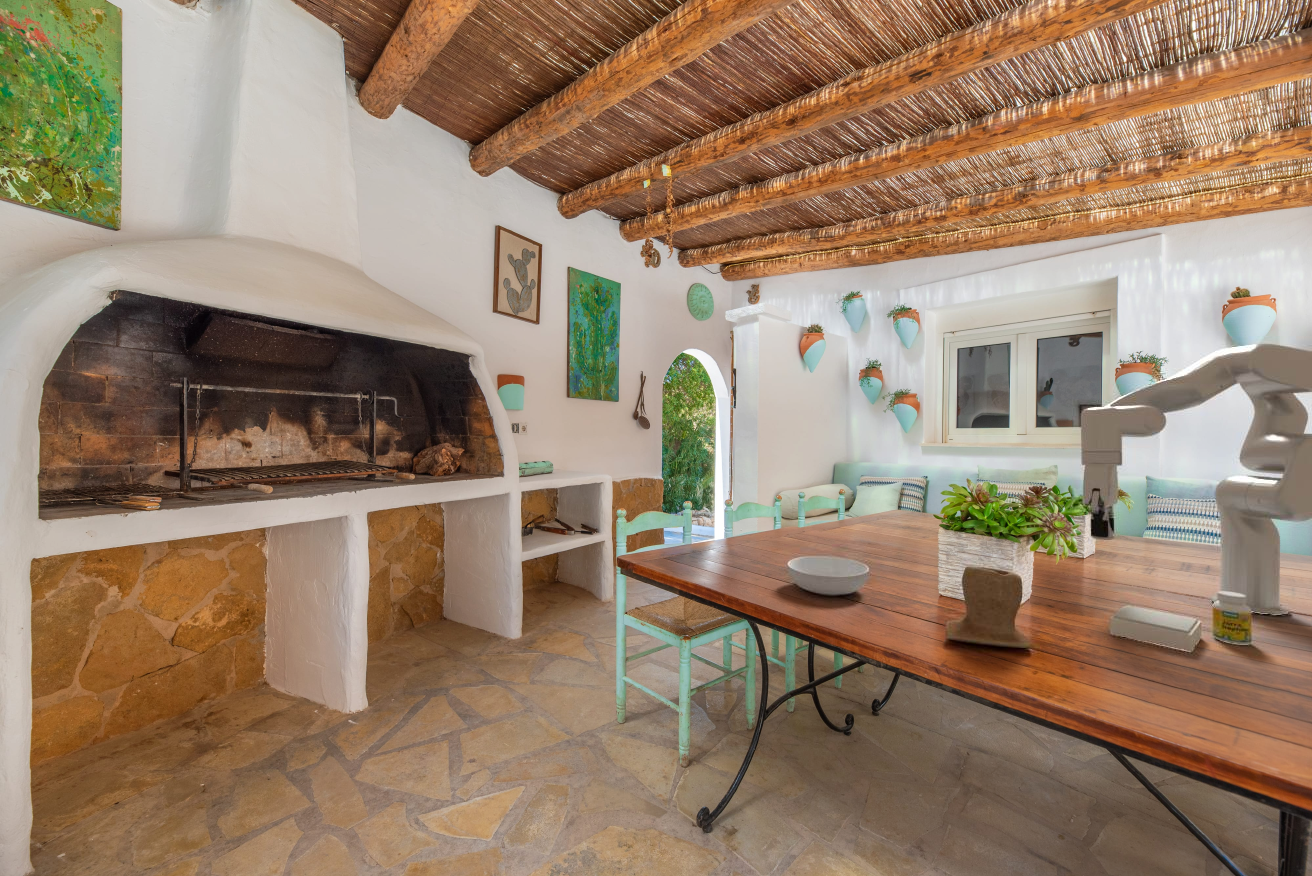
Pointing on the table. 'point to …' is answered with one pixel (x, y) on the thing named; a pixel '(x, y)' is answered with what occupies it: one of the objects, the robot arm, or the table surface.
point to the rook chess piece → (1108, 528)
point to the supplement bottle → (1232, 618)
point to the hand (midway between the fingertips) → (1102, 534)
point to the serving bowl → (828, 574)
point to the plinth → (1156, 627)
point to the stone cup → (989, 609)
